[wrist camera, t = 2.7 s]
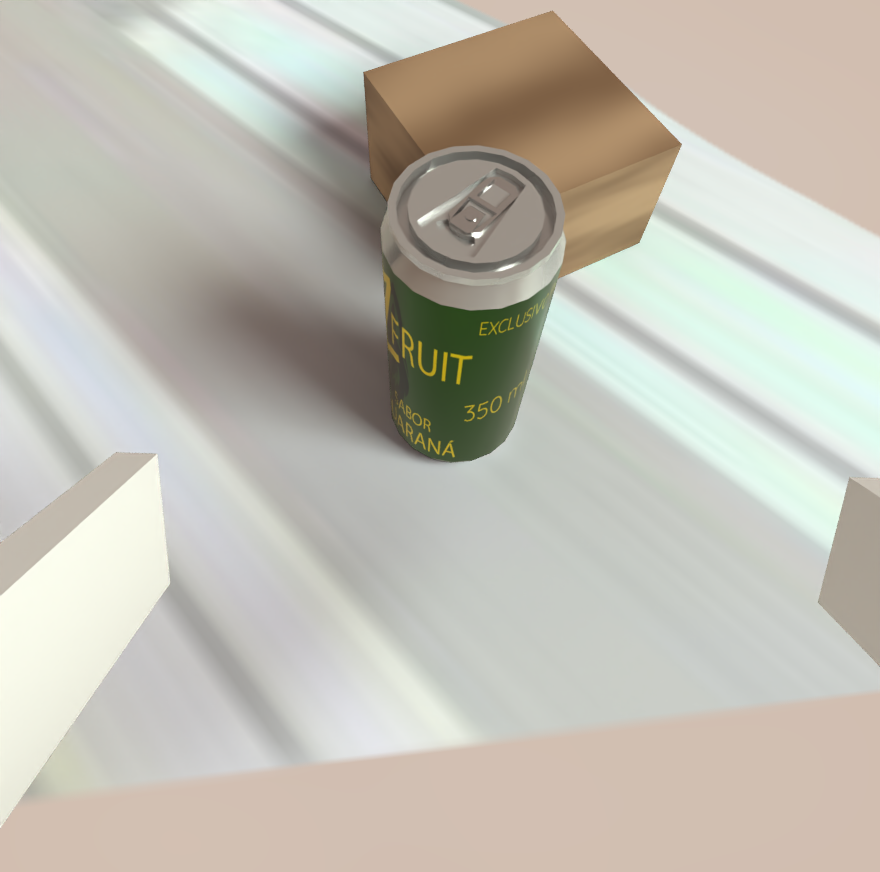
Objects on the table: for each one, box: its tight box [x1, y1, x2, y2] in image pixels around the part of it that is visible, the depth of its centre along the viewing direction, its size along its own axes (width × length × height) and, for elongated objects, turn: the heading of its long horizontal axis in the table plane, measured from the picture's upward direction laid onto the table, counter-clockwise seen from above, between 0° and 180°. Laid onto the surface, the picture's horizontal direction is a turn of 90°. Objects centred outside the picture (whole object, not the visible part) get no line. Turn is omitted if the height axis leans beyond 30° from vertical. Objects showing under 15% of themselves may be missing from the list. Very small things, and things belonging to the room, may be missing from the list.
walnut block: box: [363, 11, 682, 278], centre depth 32 cm, size 10×10×6 cm
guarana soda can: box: [380, 145, 566, 463], centre depth 24 cm, size 5×5×12 cm
